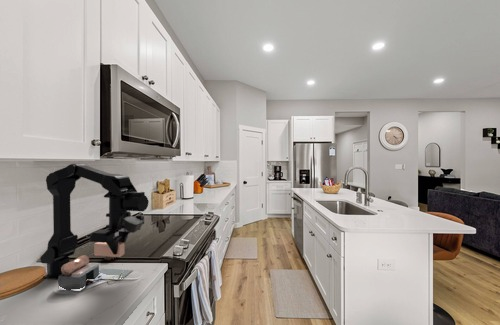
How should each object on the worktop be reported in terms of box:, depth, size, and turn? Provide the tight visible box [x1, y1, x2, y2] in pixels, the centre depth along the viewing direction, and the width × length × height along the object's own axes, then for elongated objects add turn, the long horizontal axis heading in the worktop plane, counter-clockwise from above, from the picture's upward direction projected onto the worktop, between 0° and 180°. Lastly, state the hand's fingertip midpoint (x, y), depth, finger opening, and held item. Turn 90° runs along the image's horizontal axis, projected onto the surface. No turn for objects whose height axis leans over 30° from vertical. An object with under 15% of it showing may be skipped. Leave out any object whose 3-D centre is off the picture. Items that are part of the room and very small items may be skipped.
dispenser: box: [57, 254, 100, 290], centre depth 77 cm, size 8×8×9 cm
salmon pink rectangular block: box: [93, 242, 125, 258], centre depth 79 cm, size 10×2×4 cm, turn 83°
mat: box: [99, 268, 134, 282], centre depth 83 cm, size 13×7×1 cm, turn 84°
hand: (118, 252), depth 78 cm, fingers closed on salmon pink rectangular block, 2 cm apart
